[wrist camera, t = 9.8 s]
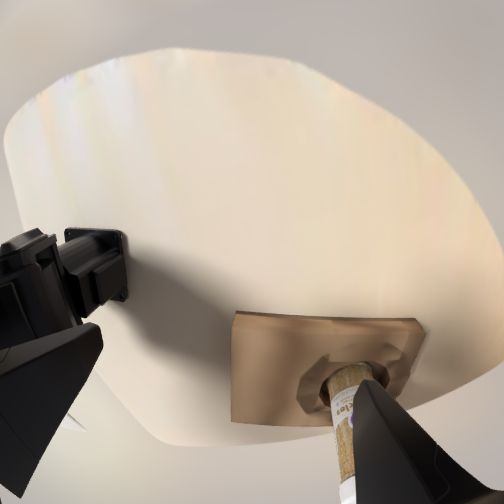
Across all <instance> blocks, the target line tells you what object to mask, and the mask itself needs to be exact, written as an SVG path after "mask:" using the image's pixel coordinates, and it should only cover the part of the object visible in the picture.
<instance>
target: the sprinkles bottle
mask: <svg viewBox="0 0 504 504" xmlns="http://www.w3.org/2000/svg"><path fill="white" fill-rule="evenodd" d="M363 379H373V376H372V369H371V367H370V366H369V365H368V364H367V363H365V362H363V361H361V362H354V363H351V364H349V365H346V366H344V367H341V368H339V369H336V370H335V371H334V372H333V373H332V374H331V375H330V376H329V377H328V378H327V379H326V385H327V387H328V389H329V395H330V402H331V413H332V420H333V427H334V433H335V440H336V447H337V454H338V457H339V465H340V474H341V482H340V488H339V490H340V499H341V504H356V487H355V469H354V456H353V443H352V429H353V398H354V395H355V393H356V391H357V389H358V387H359V385H360V383H361V382H362V380H363Z"/></svg>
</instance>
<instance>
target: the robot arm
mask: <svg viewBox="0 0 504 504" xmlns="http://www.w3.org/2000/svg"><path fill="white" fill-rule="evenodd" d="M69 233H70V235H69ZM114 234H115V235H116V238H115V237H114ZM64 236H65V243H64V244H62V245H60V246H58V247H57V244H56V242H57V239H56V235H55V234H52V235H47V234H43V233H42V232H41V231H40V230H39V229H38V228H35V229H32V230H30V231H27V232H25V233H23V234H20V235H18V236H16V237H14V238H12V239H10V240H8V241H7V242H5V243H3V244H1V247H0V484H2V485H3V486H4V487H5V488H6V489H8V490H9V491H10V492H12V493H13V494H14V495H16V496H17V497H19V498H21V497H22V496H23V494H24V492H25V490H26V487H27V485H28V483H29V481H30V479H31V477H32V475H33V473H34V471H35V469H36V467H37V465H38V463H39V460H40V459H41V457H42V455H43V454H44V452H45V450H46V448H47V446H48V444H49V443H50V441H51V439H52V437H53V436H54V434H55V432H56V430H57V429H58V427H59V425H60V423H61V422H62V420H63V418H64V417H65V415H66V413H67V412H68V410H69V408H70V407H71V405H72V403H73V402H74V400H75V398H76V397H77V395H78V394H79V392H80V390H81V389H82V387H83V386H84V384H85V382H86V381H87V379H88V377H89V375H90V373H91V371H92V369H93V367H94V365H95V363H96V361H97V359H98V357H99V355H100V353H101V351H102V349H103V339H102V334H101V329H100V327H99V326H98V325H96V324H94V323H90V322H89V323H85V324H83V322H82V320H81V317H82V318H87V317H88V316H89V315H90V314H91V313H92V312H94V311H95V310H96V309H97V308H98V307H99V306H103V305H104V304H105V303H106V302H107V301H108V300H115V301H120V302H124V301H126V300H127V299H128V292H127V285H126V284H127V278H126V271H125V262H124V256H123V252H122V241H121V233H120V232H119V231H118V230H114V229H94V228H71V227H70V228H67V229H65V231H64ZM121 295H123V296H124V297H122V296H121ZM352 443H353V456H354V469H355V487H356V504H504V491H498V490H493V489H490V488H488V487H486V486H485V485H483V484H482V483H481V482H480V481H478V480H477V479H476V478H475V477H473V476H472V475H471V474H469V473H468V472H467V471H466V470H465V469H464V468H462V467H461V466H460V465H459V464H458V463H457V462H456V461H454V460H453V459H452V458H451V457H450V456H449V455H448V454H447V453H446V452H445V451H444V450H443V449H442V448H441V447H440V446H439V445H437V443H436V442H435V441H434V440H433V439H432V438H431V437H430V436H429V435H428V433H427V432H426V431H425V430H424V429H423V428H422V427H421V426H420V425H419V424H418V423H417V422H416V421H415V420H414V419H413V418H412V417H411V416H410V415H409V414H408V413H407V412H406V411H405V410H404V409H403V408H402V407H401V406H400V405H399V403H398V402H397V401H396V400H395V399H394V398H393V397H392V396H391V395H390V394H389V393H388V392H387V391H386V390H385V389H384V388H383V387H382V386H381V385H380V384H379V383H378V382H377V381H376V380H375V379H363V380H362V382H361V383H360V385H359V387H358V389H357V391H356V393H355V395H354V398H353V429H352ZM0 504H2V503H1V499H0Z"/></svg>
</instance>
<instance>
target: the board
mask: <svg viewBox="0 0 504 504" xmlns="http://www.w3.org/2000/svg"><path fill="white" fill-rule="evenodd" d="M425 334H426V333H425V331H424V330H423V328H422V327H421V326H420V324H419V323H418V322H417V320H416V319H415V318H343V317H318V316H299V315H283V314H269V313H256V312H245V311H236V313H235V316H234V320H233V324H232V327H231V422H237V423H246V424H258V425H272V426H297V427H321V426H333V420H332V413H331V402H330V395H329V389H328V387H327V385H326V379H327V378H328V377H329V376H330V375H331V374H332V373H333V372H334V371H335V370H336V369H339V368H341V367H344V366H346V365H349V364H351V363H354V362H361V361H363V362H365V363H367V364H368V365H369V366H370V367H371V369H372V376H373V379H375V380H376V381H377V382H378V383H379V384H380V385H381V386H382V387H383V388H384V389H385V390H386V391H387V392H388V393H389V394H390V395H391V396H392V397H393V398H394V399H396V397H397V396H399V395H400V393H401V391H402V389H403V387H404V386H405V384H406V382H407V380H408V378H409V375H410V369H411V367H412V365H413V362H414V360H415V358H416V356H417V353H418V351H419V349H420V346H421V344H422V341H423V339H424V336H425Z"/></svg>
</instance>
